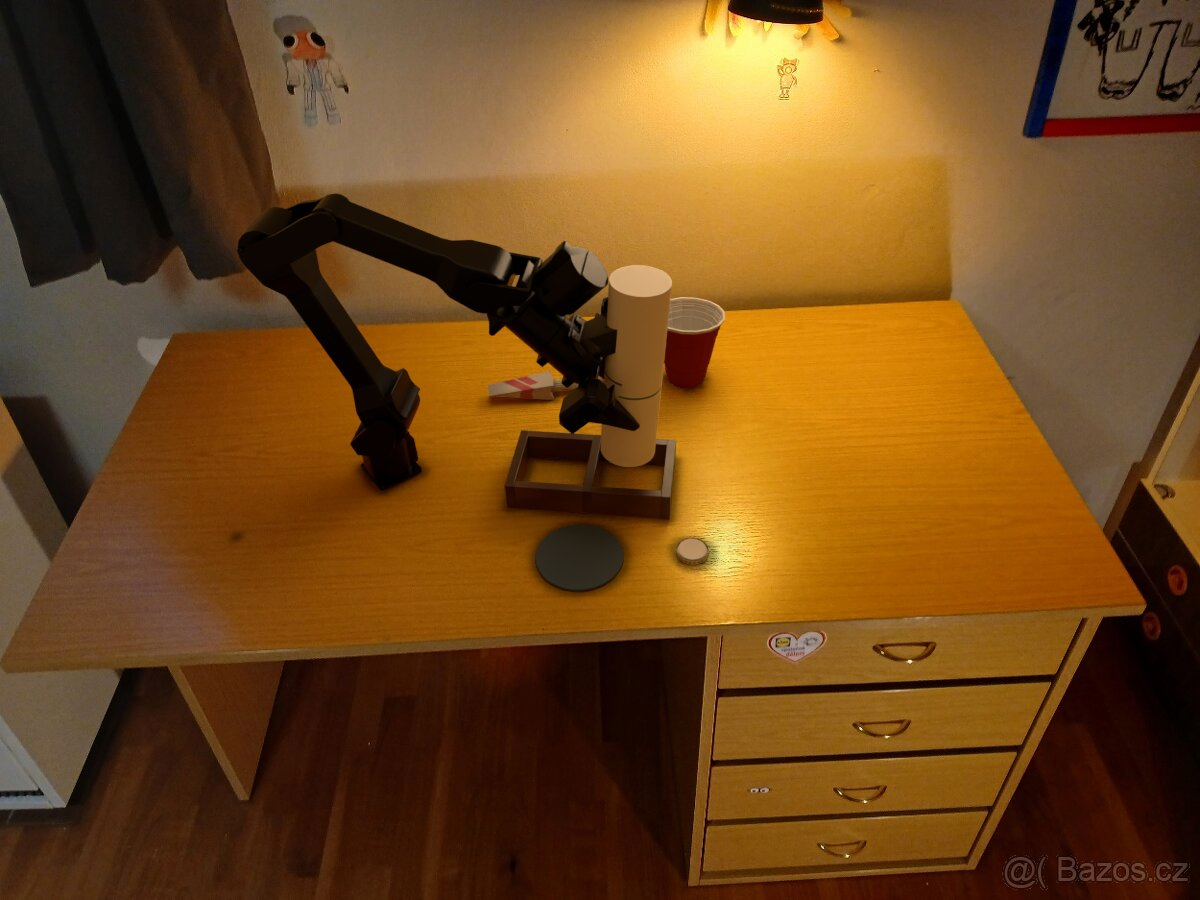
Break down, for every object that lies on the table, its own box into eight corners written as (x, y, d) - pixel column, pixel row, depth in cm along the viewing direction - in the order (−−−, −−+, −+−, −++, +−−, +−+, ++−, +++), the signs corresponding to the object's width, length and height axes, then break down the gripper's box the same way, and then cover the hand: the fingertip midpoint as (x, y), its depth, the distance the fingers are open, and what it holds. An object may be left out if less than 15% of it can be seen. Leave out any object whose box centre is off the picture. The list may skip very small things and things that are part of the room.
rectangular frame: (507, 507, 121) (504, 485, 118) (523, 451, 129) (521, 429, 127) (669, 519, 118) (670, 497, 116) (675, 461, 127) (676, 439, 124)
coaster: (570, 606, 108) (570, 604, 108) (518, 552, 115) (518, 550, 114) (641, 562, 113) (641, 560, 113) (588, 513, 120) (588, 511, 119)
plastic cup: (726, 362, 144) (731, 297, 137) (714, 403, 137) (719, 336, 129) (659, 353, 147) (660, 288, 139) (643, 392, 139) (644, 326, 131)
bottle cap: (703, 567, 112) (703, 564, 111) (672, 559, 113) (672, 556, 113) (712, 545, 115) (712, 541, 114) (681, 537, 116) (681, 534, 115)
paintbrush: (487, 374, 138) (617, 366, 141) (488, 389, 140) (616, 380, 142) (488, 389, 135) (621, 380, 138) (489, 404, 137) (620, 395, 139)
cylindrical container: (623, 424, 123) (634, 258, 107) (665, 447, 120) (684, 279, 103) (589, 450, 119) (596, 281, 102) (632, 474, 115) (646, 304, 99)
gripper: (584, 339, 97) (683, 426, 103) (605, 253, 111) (691, 334, 117) (517, 393, 103) (614, 472, 109) (545, 305, 117) (630, 379, 123)
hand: (640, 411), depth 115 cm, fingers closed on cylindrical container, 6 cm apart
